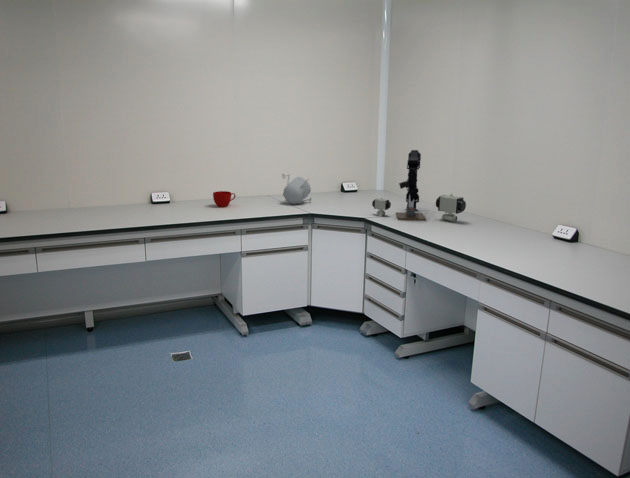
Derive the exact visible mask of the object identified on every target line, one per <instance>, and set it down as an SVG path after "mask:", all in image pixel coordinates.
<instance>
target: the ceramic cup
mask: <svg viewBox="0 0 630 478" xmlns="http://www.w3.org/2000/svg"><path fill="white" fill-rule="evenodd" d="M212 196H213V197H212V199H213V202H214V203H215V205H216V206H217V207H218V208H226V206H227V207H228V206H229V204H230V203H231V202H232V201H233V200H235V198H236V194H235V193H234V192H233V193H232V192H231V191H227V190H226V191H225V190H220V191H218V190H217V191H214V192H212ZM232 196H233V198H232Z"/></svg>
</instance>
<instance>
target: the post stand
mask: <svg viewBox="0 0 630 478" xmlns="http://www.w3.org/2000/svg"><path fill="white" fill-rule="evenodd" d="M405 209H406V210H405V211H406V212H395V216H396V219H397V221H413V222H414V221H418V222H419V221H420V222H421V221H422V222H426V221H427V218H426V216H425V214H424V213H423V212H416V211H415V207H413V208H408V207H407V206H406V208H405Z"/></svg>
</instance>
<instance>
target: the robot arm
mask: <svg viewBox="0 0 630 478" xmlns="http://www.w3.org/2000/svg"><path fill="white" fill-rule="evenodd" d="M421 159H422V155H421V152H419V150H417V149H414V150H413V149H412V150H410V152H409V153H408V158H407V163H406V164H407V165H406V169H407V170H408V173H407V179H406V180H405V181H402V182H399V183H398V185H399V189H404V188H405V189H406V191H407V193H406V195H405V202H406V203H407V204H406V208H407V207H408V206H409V195H410V199H411V201H413V199H414V207H415V212H417V211H418V209H417V203H419V202H420V196H419V188H418V185H417V184H418V170H420V168H421ZM406 208H405V211H406Z"/></svg>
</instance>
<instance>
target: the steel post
mask: <svg viewBox="0 0 630 478" xmlns="http://www.w3.org/2000/svg"><path fill="white" fill-rule="evenodd" d="M413 207H414V199H413V201H411V199H410V195H409V206H408V208H413Z"/></svg>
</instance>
